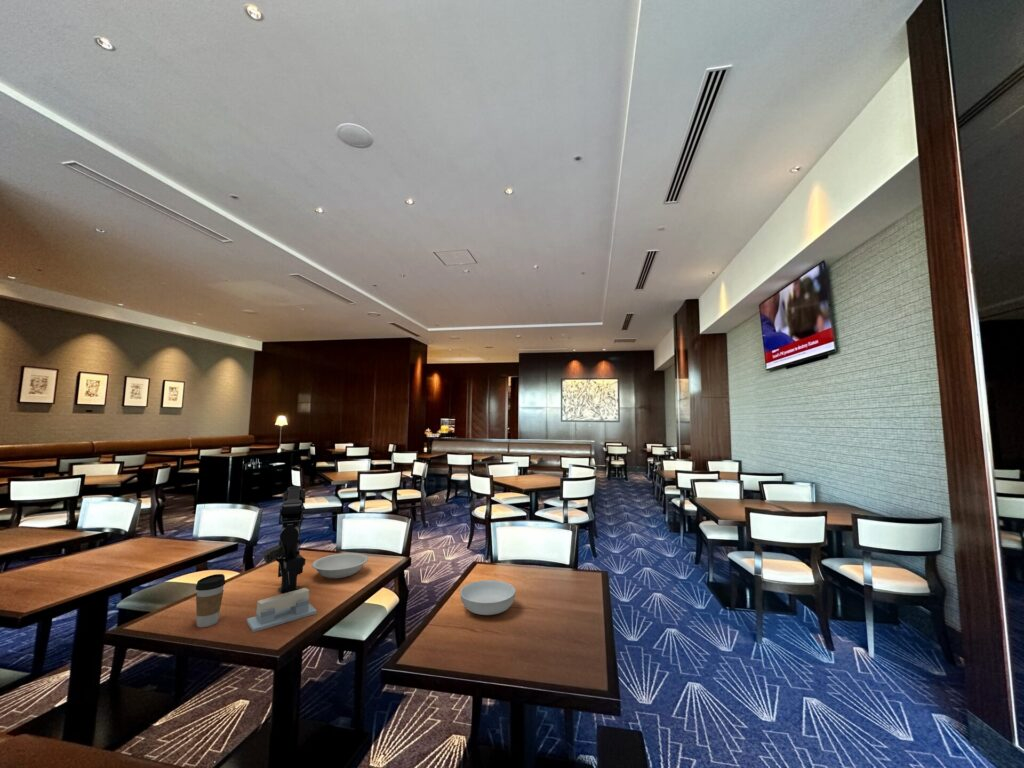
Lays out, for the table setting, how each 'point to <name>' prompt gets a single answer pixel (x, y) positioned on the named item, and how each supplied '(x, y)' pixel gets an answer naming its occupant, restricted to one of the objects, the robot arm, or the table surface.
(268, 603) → the strip
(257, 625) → the rack
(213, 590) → the coffee cup
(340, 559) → the soup bowl
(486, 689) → the table surface
